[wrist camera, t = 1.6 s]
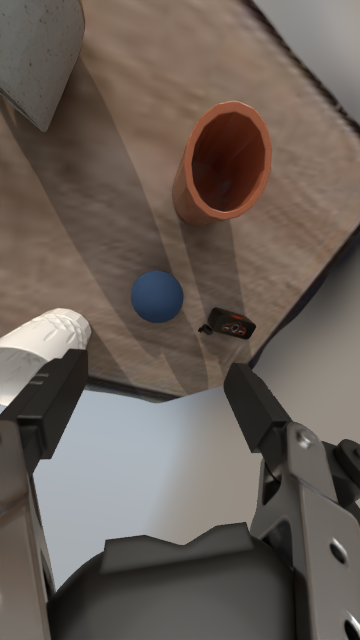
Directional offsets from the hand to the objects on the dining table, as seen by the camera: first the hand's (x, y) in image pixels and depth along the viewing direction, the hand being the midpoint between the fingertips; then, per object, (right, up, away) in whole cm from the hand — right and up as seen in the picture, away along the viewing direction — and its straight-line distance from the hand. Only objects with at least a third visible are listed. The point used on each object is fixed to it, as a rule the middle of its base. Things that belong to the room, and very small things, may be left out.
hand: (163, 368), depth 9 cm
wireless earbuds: (+8, +3, +18) cm, 20 cm away
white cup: (-16, +1, +15) cm, 22 cm away
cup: (+3, +17, +10) cm, 20 cm away
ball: (-2, +6, +12) cm, 13 cm away
